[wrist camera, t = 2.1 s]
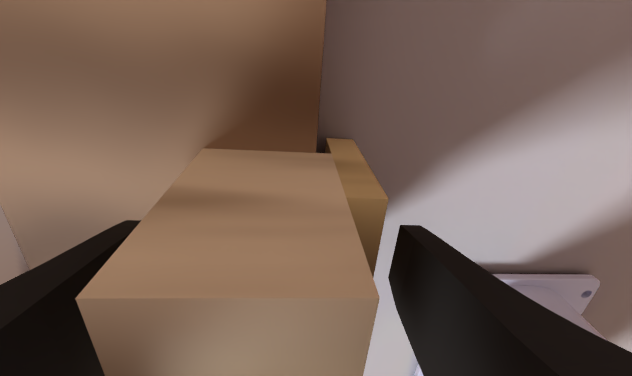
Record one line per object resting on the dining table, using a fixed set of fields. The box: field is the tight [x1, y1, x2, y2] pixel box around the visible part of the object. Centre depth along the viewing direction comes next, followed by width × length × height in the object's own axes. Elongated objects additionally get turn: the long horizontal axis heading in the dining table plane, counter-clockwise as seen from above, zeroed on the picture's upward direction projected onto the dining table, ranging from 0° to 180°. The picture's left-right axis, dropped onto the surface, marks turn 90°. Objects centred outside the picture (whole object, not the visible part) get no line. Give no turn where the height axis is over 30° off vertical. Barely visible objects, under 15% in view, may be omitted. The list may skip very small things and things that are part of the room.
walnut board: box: [0, 0, 327, 270], centre depth 9 cm, size 22×10×2 cm, turn 176°
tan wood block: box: [75, 138, 388, 376], centre depth 9 cm, size 5×5×8 cm
